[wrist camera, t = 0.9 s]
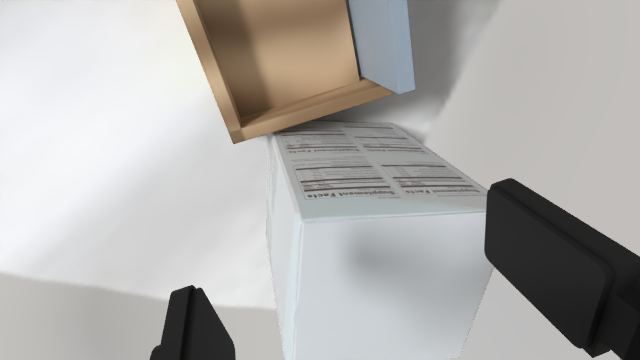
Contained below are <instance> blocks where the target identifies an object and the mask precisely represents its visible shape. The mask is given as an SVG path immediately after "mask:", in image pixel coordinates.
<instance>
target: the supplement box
mask: <svg viewBox="0 0 640 360" xmlns="http://www.w3.org/2000/svg"><path fill="white" fill-rule="evenodd" d="M487 192H488V190H487V189H485V188H484V187H482V186H481V185H479V184H478V183H477V182H475V181H474V180H472V179H471V178H469V177H468V176H467V175H465V174H464V173H462V172H461V171H459V170H458V169H457V168H455V167H454V166H452V165H451V164H449V163H448V162H447V161H445V160H444V159H442V158H441V157H440V156H438V155H437V154H435V153H434V152H433V151H431V150H430V149H428V148H427V147H425V146H424V145H423V144H421V143H420V142H418V141H417V140H416V139H414V138H413V137H411V136H410V135H408V134H407V133H405V132H404V131H403V130H401V129H400V128H398V127H397V126H395V125H394V124H392V123H365V122H323V121H307V122H303V123H300V124H297V125H294V126H291V127H287V128H284V129H281V130H278V131H275V132H271V133H268V144H267V200H266V239H267V246H268V253H269V259H270V266H271V273H272V279H273V286H274V293H275V299H276V306H277V313H278V320H279V327H280V333H281V340H282V347H283V353H284V359H285V360H447V359H452V358H458V357H460V355H461V352H462V349H463V347H464V344H465V342H466V339H467V336H468V334H469V331H470V329H471V326H472V323H473V321H474V318H475V315H476V313H477V310H478V307H479V305H480V302H481V300H482V297H483V294H484V292H485V290H486V287H487V284H488V281H489V279H490V277H491V274H492V272H493V269H494V266H493V265H492V264H491V263H490V262H489V261H488V259H487V258H486V256H485V253H484V242H485V222H486V202H487Z"/></svg>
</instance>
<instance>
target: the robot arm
mask: <svg viewBox="0 0 640 360" xmlns="http://www.w3.org/2000/svg"><path fill="white" fill-rule="evenodd" d="M484 253H485V256H486V258H487V259H488V261H489V262H490V263H491V264H492V265H493V266H494V267H495V268H496V269H497V270H499V272H500V273H501V274H502V275H504V276H505V278H506V279H507V280H508V281H509V282H510V283H511V284H513V286H515V288H516V289H518V291H520V292H521V294H523V295H524V296H525V297H526V298H527V299H528V300H529V301H530V302H531V303H532V304H533V305H534V306H535V307H536V308H537V309H538V310H539V311H540V312H541V313H542V314H543V315H544V316H545V317H546V318H547V319H548V320H549V321H550V322H551V323H552V324H553V325H554V326H555V327H556V328H557V329H558V330H559V331H560V332H561V333H562V334H563V335H564V336H565V337H566V338H567V339H568V340H569V341H570V342H571V343H572V344H573V345H574V346H576V347H578V348H583V349H584V350H585V351H586V352H587V353H588V354H589V355H590V356H591V357H592V358H594V357H596V356H599V355H601V354H604V353H606V352H609V351H610V349H611V350H612V351H613V352H614V353H615V354H616V355H618V356H619V357H620V360H640V257H639V256H638V255H636V254H634V253H633V252H631V251H630V250H628V249H626V248H625V247H623V246H622V245H620V244H618V243H617V242H615V241H613V240H611V239H610V238H609V237H607V236H605V235H604V234H602V233H600V232H599V231H597V230H596V229H594V228H592V227H591V226H589V225H588V224H586V223H584V222H583V221H581V220H579V219H578V218H576V217H574V216H573V215H571V214H570V213H568V212H566V211H565V210H563V209H562V208H560V207H558V206H557V205H555V204H553V203H552V202H550V201H549V200H547V199H545V198H544V197H542V196H540V195H539V194H537V193H535V192H534V191H532V190H531V189H529V188H527V187H525V186H524V185H523V184H521V183H519V182H518V181H516V180H514V179H512V178H508V179H505V180H502V181H499V182H496V183H494V184H492V185H491V188H490V190H488V192H487V202H486V222H485V242H484ZM150 360H235V348H234V344H233V341H232V339H231V338H230V336H229V334H228V332H227V331H226V329H225V327H224V325H223V324H222V322H221V320H220V319H219V317H218V315H217V314H216V312H215V310H214V308H213V307H212V305H211V303H210V301H209V300H208V298H207V296H206V294H205V293H204V291H203V290H202V288H197V289H196V288H195V287H194V286H193V285H190V286H187V287H184V288H181V289H178V290H175V291H173V292H172V293H171V295H170V300H169V305H168V310H167V315H166V320H165V325H164V330H163V335H162V340H161V345H159V346H156V347H155V348H154V349H153V351H152V354H151V357H150Z"/></svg>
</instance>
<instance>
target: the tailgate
mask: <svg viewBox="0 0 640 360" xmlns="http://www.w3.org/2000/svg"><path fill="white" fill-rule="evenodd" d="M348 3H349V9H350V15H351V20H352V26H353V32H354V38H355V44H356V49H357V55H358V61H359V67H360V72H361V76H363V77H365V78H367V79H369V80H371V81H373V82H375V83H377V84H379V85H381V86H383V87H385V88H387V89H389V90H392V91H394V92H396V93H398V94H402V93H406V92H409V91H412V90H415V80H414V70H413V59H412V49H411V38H410V28H409V17H408V7H407V0H348Z"/></svg>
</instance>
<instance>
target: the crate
mask: <svg viewBox="0 0 640 360" xmlns="http://www.w3.org/2000/svg"><path fill="white" fill-rule="evenodd" d="M176 2H177V5H178V7H179V10H180V12H181V15H182V17H183V20H184V22H185V25H186V27H187V30H188V32H189V35H190V37H191V40H192V42H193V45H194V47H195V50H196V52H197V55H198V57H199V60H200V62H201V65H202V67H203V70H204V72H205V75H206V77H207V80H208V82H209V84H210V87H211V89H212V92H213V94H214V97H215V99H216V102H217V104H218V107H219V109H220V112H221V114H222V117H223V119H224V122H225V124H226V127H227V129H228V132H229V134H230V137H231V139H232V142H233V144H236V143H239V142H242V141H246V140H249V139H252V138H255V137H259V136H262V135H265V134H268V133H271V132H275V131H278V130H281V129H284V128H287V127H291V126H294V125H297V124H300V123H303V122H307V121H310V120H313V119H316V118H319V117H323V116H326V115H329V114H332V113H335V112H339V111H342V110H345V109H348V108H351V107H355V106H358V105H361V104H364V103H367V102H371V101H374V100H377V99H380V98H383V97H387V96H390V95H393V93H392V90H389V89H387V88H385V87H383V86H381V85H379V84H377V83H375V82H373V81H371V80H369V79H367V78H365V77H363V76H359V75H358V69H357V63H356V58H355V52H354V46H353V41H352V35H351V29H350V24H349V18H348V12H347V7H346V1H345V0H176Z"/></svg>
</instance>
